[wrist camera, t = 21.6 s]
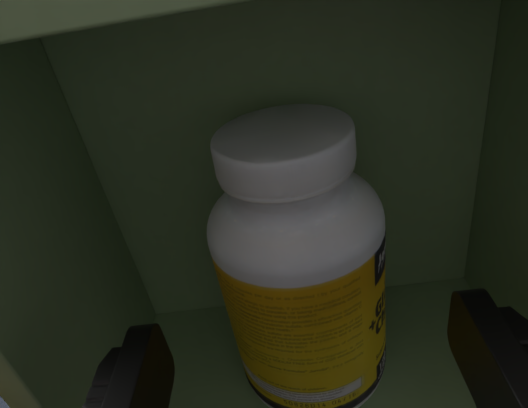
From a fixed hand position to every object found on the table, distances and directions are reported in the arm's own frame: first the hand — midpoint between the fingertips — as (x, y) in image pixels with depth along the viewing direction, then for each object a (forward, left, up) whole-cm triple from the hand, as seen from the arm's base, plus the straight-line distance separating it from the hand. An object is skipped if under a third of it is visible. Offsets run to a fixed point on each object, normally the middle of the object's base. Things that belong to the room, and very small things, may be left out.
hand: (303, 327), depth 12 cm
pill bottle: (+3, -4, -8) cm, 9 cm away
